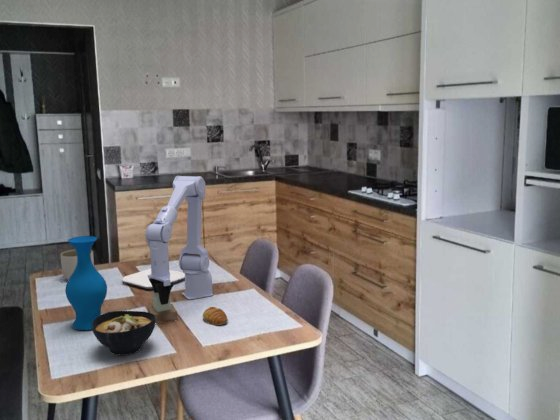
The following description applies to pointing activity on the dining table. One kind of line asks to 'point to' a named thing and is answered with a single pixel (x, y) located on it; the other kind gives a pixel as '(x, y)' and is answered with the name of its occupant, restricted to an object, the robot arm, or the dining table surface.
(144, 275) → the plate
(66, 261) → the planter
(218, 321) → the pastry
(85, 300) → the vase
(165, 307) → the green block
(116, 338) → the bowl
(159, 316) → the base block
